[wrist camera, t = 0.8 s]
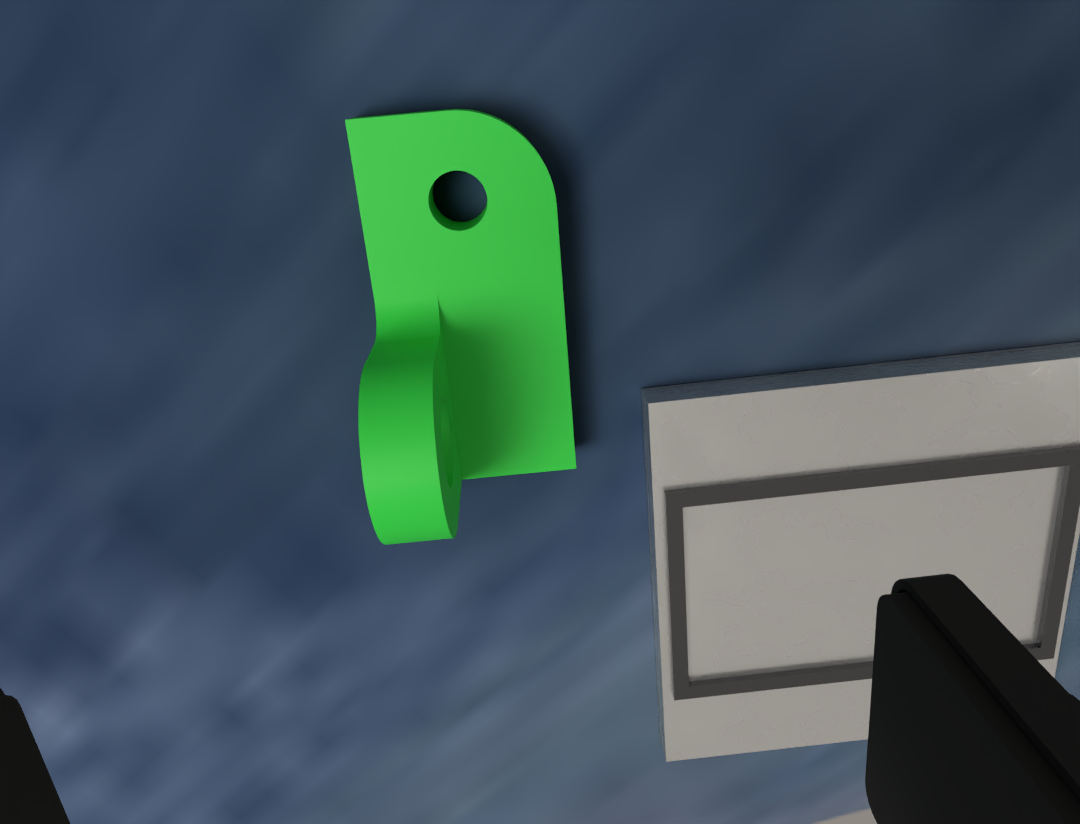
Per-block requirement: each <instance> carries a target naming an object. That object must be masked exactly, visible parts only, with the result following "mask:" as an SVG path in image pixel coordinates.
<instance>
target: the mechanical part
mask: <svg viewBox="0 0 1080 824" xmlns="http://www.w3.org/2000/svg"><path fill="white" fill-rule="evenodd" d="M345 122H346V128H347V134H348V141H349V147H350V153H351V159H352V165H353V171H354V178H355V184H356V190H357V196H358V202H359V208H360V215H361V221H362V227H363V233H364V239H365V245H366V252H367V258H368V264H369V270H370V276H371V282H372V288H373V295H374V301H375V309H376V325H377V330H376V341H375V344H374V346H373V348H372V350H371V352H370V354H369V356H368V359H367V361H366V363H365V365H364V367H363V371H362V375H361V381H360V390H359V443H360V456H361V466H362V474H363V482H364V488H365V494H366V499H367V504H368V508H369V513H370V516H371V520H372V523H373V526H374V529H375V532H376V534H377V536H378V538H379V540H380V541H381V542H382V543H383V544H385V545H387V544H397V543H407V542H418V541H428V540H438V539H449V538H455V536H456V533H457V526H458V515H459V504H460V494H461V483H462V479H473V478H483V477H493V476H504V475H514V474H525V473H535V472H546V471H556V470H566V469H576V459H575V445H574V432H573V418H572V405H571V391H570V377H569V364H568V350H567V337H566V323H565V310H564V296H563V283H562V269H561V256H560V242H559V229H558V215H557V203H556V195H555V191H554V187H553V183H552V180H551V177H550V174H549V172H548V170H547V168H546V166H545V164H544V162H543V161H542V159H541V157H540V155H539V154H538V152H537V151H536V149H535V148H534V147H533V145H532V144H531V143H530V142H529V141H528V139H527V138H526V137H525V136H524V135H523V134H522V133H520V132H519V131H518V130H517V129H516V128H514V127H513V126H511V125H510V124H509V123H507V122H505V121H503V120H502V119H500V118H498V117H495V116H493V115H491V114H488V113H484V112H481V111H476V110H471V109H445V110H434V111H423V112H412V113H401V114H390V115H379V116H368V117H357V118H351V119H347V120H345ZM457 170H458V171H465V172H468V173H470V174H472V175H473V176H475V177H476V178H477V179H478V180H479V181H480V182H481V183H482V185H483V186H484V188H485V191H486V194H487V204H486V206H485V208H484V210H483V211H482V213H481V214H480V215H479V216H477V217H476V218H474V219H473V220H470V221H466V222H456V221H452V220H450V219H448V218H446V217H445V216H443V215H442V214H441V213H440V212H439V210H438V209H437V207H436V205H435V203H434V200H433V186H434V183H435V180H436V179H437V178H438V177H439V176H441V175H442V174H444V173H446V172H449V171H457Z"/></svg>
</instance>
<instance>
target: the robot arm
mask: <svg viewBox="0 0 1080 824" xmlns="http://www.w3.org/2000/svg"><path fill="white" fill-rule="evenodd" d="M865 783H866V792H867V797H868V801H869V805H870V808H871V810H872V813H873V815H874V818H875V819H876V822H877V824H1080V701H1079V700H1078V699H1077V698H1076V697H1074V696H1073V695H1071V694H1069V693H1068V692H1067V691H1066V690H1065V689H1064V688H1063V687H1062V686H1061V685H1060V684H1059V683H1058V681H1057V680H1056V679H1055V678H1054V677H1053V676H1052V675H1051V674H1050V673H1049V672H1048V671H1047V670H1046V669H1045V668H1044V667H1043V666H1042V665H1041V664H1040V663H1039V661H1038V660H1037V659H1036V658H1035V657H1034V656H1033V655H1032V654H1031V653H1030V652H1029V651H1028V650H1027V649H1026V648H1025V647H1024V646H1023V645H1022V644H1021V643H1020V641H1019V640H1018V639H1017V638H1016V637H1015V636H1014V635H1013V634H1012V633H1011V632H1010V631H1009V630H1008V629H1007V628H1006V627H1005V626H1004V625H1003V624H1002V623H1001V622H1000V620H999V619H998V618H997V617H996V616H995V615H994V614H993V613H992V612H991V611H990V610H989V609H988V608H987V607H986V606H985V605H984V604H983V603H982V602H981V600H980V599H979V598H978V597H977V596H976V595H975V594H974V593H973V592H972V591H971V590H970V589H969V588H968V587H967V586H966V585H965V584H964V583H963V582H962V580H960V579H959V578H958V577H957V576H955V575H953V574H940V575H931V576H922V577H913V578H905V579H899V580H897V581H895V583H894V585H893V587H892V591H891V594H885V595H882V596H880V598H879V600H878V604H877V613H876V628H875V643H874V657H873V672H872V687H871V702H870V717H869V732H868V747H867V762H866V777H865ZM0 824H70V822H69V820H68V817H67V815H66V813H65V810H64V808H63V806H62V803H61V801H60V798H59V796H58V794H57V791H56V789H55V787H54V784H53V782H52V779H51V777H50V775H49V772H48V770H47V768H46V765H45V763H44V761H43V758H42V756H41V753H40V751H39V749H38V746H37V744H36V742H35V739H34V737H33V734H32V732H31V730H30V727H29V725H28V723H27V720H26V718H25V715H24V713H23V711H22V708H21V706H20V704H19V703H18V701H17V699H15V698H14V697H12V696H8V695H5V694H4V692H3V691H2V689H0Z"/></svg>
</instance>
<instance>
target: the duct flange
mask: <svg viewBox="0 0 1080 824" xmlns="http://www.w3.org/2000/svg"><path fill="white" fill-rule="evenodd" d="M641 396H642V415H643V434H644V453H645V472H646V491H647V510H648V529H649V548H650V567H651V585H652V604H653V623H654V642H655V661H656V680H657V699H658V718H659V735H660V739H661V743H662V747H663V751H664V755H665V759H666V762H667V761H676V760H685V759H694V758H703V757H712V756H721V755H730V754H739V753H748V752H757V751H766V750H775V749H784V748H793V747H802V746H810V745H819V744H828V743H837V742H846V741H855V740H864V739H868V732H869V717H870V702H871V687H872V672H873V657H874V643H875V628H876V613H877V604H878V600H879V598H880V596H882V595H885V594H891V591H892V587H893V585H894V583H895V581H897V580H899V579H905V578H913V577H922V576H931V575H940V574H953V575H955V576H957V577H958V578H959V579H960V580H962V582H963V583H964V584H965V585H966V586H967V587H968V588H969V589H970V590H971V591H972V592H973V593H974V594H975V595H976V596H977V597H978V598H979V599H980V600H981V602H982V603H983V604H984V605H985V606H986V607H987V608H988V609H989V610H990V611H991V612H992V613H993V614H994V615H995V616H996V617H997V618H998V619H999V620H1000V622H1001V623H1002V624H1003V625H1004V626H1005V627H1006V628H1007V629H1008V630H1009V631H1010V632H1011V633H1012V634H1013V635H1014V636H1015V637H1016V638H1017V639H1018V640H1019V641H1020V643H1021V644H1022V645H1023V646H1024V647H1025V648H1026V649H1027V650H1028V651H1029V652H1030V653H1031V654H1032V655H1033V656H1034V657H1035V658H1036V659H1037V660H1038V661H1039V663H1040V664H1041V665H1042V666H1043V667H1044V668H1045V669H1046V670H1047V671H1048V672H1049V673H1050V674H1051V675H1052V676H1053V677H1054V678H1055V672H1056V667H1057V661H1058V655H1059V649H1060V643H1061V638H1062V632H1063V626H1064V620H1065V614H1066V609H1067V603H1068V597H1069V591H1070V585H1071V579H1072V574H1073V568H1074V562H1075V556H1076V550H1077V545H1078V539H1079V533H1080V342H1072V343H1063V344H1053V345H1044V346H1034V347H1025V348H1016V349H1006V350H997V351H988V352H978V353H969V354H960V355H950V356H941V357H932V358H922V359H913V360H903V361H894V362H885V363H875V364H866V365H857V366H847V367H838V368H829V369H819V370H810V371H801V372H791V373H782V374H773V375H763V376H754V377H744V378H735V379H726V380H716V381H707V382H698V383H688V384H679V385H670V386H660V387H651V388H642V389H641Z"/></svg>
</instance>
